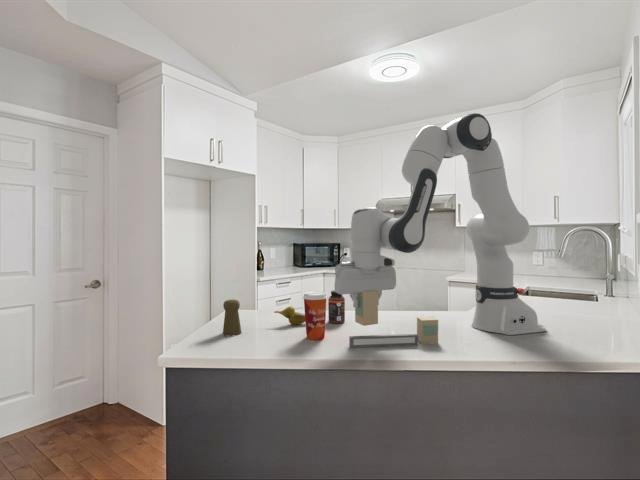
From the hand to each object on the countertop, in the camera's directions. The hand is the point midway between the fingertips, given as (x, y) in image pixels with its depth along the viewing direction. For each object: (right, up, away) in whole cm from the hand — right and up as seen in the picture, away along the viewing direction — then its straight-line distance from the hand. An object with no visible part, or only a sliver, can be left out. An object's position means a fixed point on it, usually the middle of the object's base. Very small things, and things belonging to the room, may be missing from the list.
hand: (366, 306), depth 114 cm
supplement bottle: (-8, -10, +22) cm, 25 cm away
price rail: (+4, -11, -5) cm, 13 cm away
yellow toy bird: (-23, -10, +19) cm, 31 cm away
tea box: (+18, -10, -2) cm, 21 cm away
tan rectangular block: (0, -5, 0) cm, 5 cm away
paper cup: (-15, -11, +3) cm, 19 cm away
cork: (-43, -11, +9) cm, 45 cm away
